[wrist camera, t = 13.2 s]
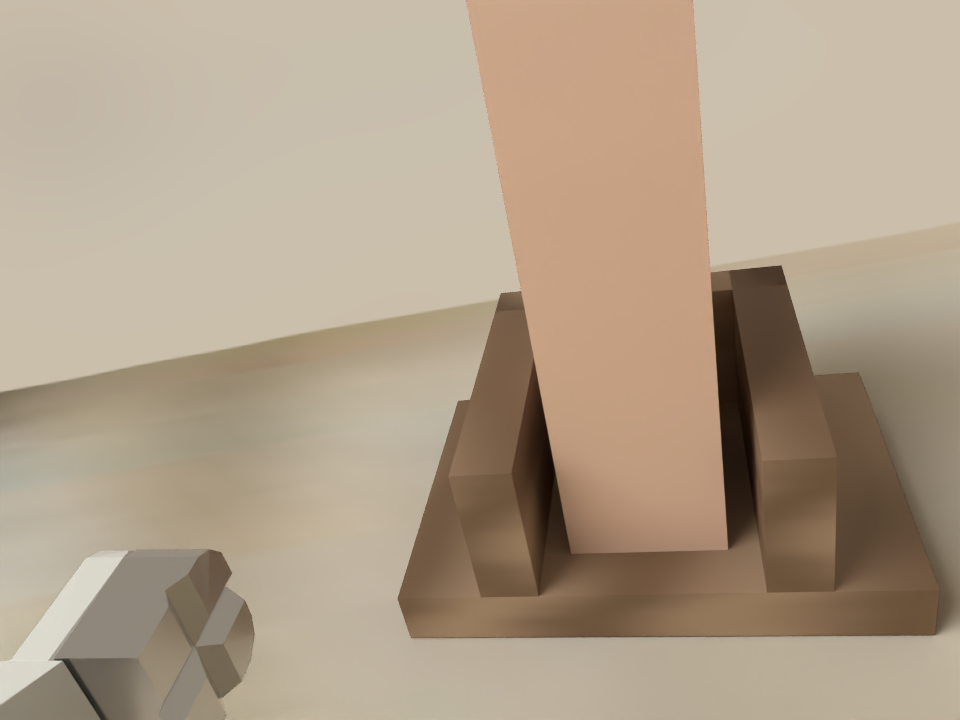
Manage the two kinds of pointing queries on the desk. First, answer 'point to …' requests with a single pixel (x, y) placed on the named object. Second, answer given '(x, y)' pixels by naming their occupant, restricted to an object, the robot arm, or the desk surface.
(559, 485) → the clay strip
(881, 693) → the desk surface
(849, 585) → the slotted wooden stand
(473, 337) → the desk surface
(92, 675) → the robot arm
